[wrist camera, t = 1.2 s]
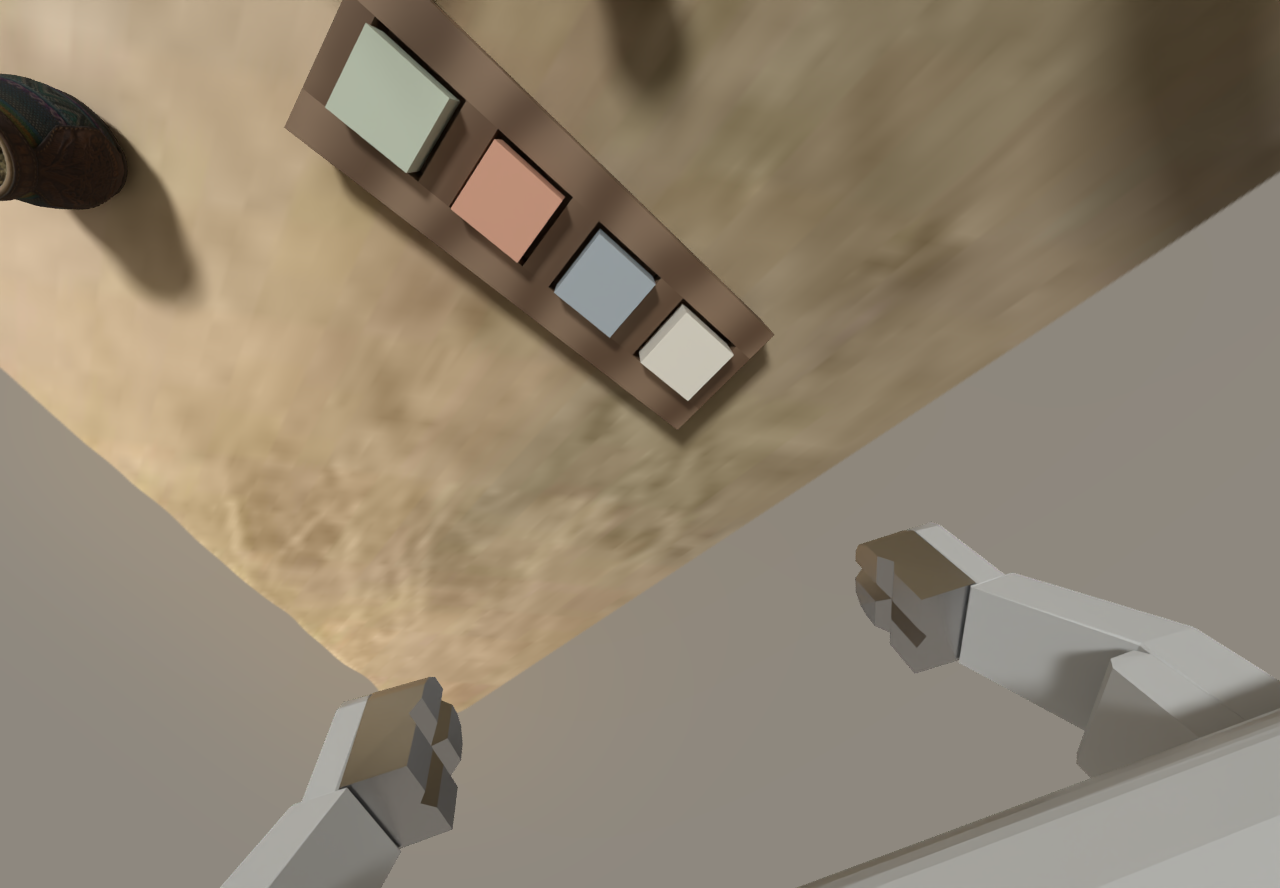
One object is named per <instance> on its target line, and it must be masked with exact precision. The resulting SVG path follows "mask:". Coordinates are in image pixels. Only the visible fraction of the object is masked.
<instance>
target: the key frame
mask: <svg viewBox="0 0 1280 888" xmlns="http://www.w3.org/2000/svg"><path fill="white" fill-rule="evenodd" d="M365 23H367V24H369V25H371V26H373V27H375V28H377V29H379V30H381V31H383V32H384V33H385V34H386V35H388V36H389V37H390V38H391V39H392V40H393V41H394V42H395V43H396V44H397V45H399V46H400V47H401V48H402V49H403V50H404V51H405V52H406V53H407V54H408V55H410V56H411V57H412V58H413V59H414V60H415V61H416V62H417V63H418V64H420V65H421V66H422V67H423V68H424V69H425V70H426V71H427V72H428V73H429V74H431V75H432V76H433V77H434V78H435V79H436V80H437V81H438V82H439V83H440V84H442V85H443V86H444V87H445V88H446V89H447V90H448V91H449V92H450V93H451V94H453V95H454V96H455V97H456V98H457V99H458V100H459V101H460V103H459V105H458V107H457V108H456V110H455V112H454V113H453V115H452V117H451V118H450V120H449V122H448V124H447V125H446V127H445V129H444V130H443V132H442V134H441V136H440V137H439V139H438V141H437V142H436V144H435V146H434V147H433V149H432V151H431V153H430V154H429V156H428V158H427V159H426V161H425V163H424V164H423V166H422V168H421V170H420V171H418V172H411V173H405V172H404V171H403V170H402V169H401V168H399V167H398V166H397V165H396V164H394V163H393V162H392V161H391V160H389V159H388V158H387V157H386V156H384V155H383V154H382V153H381V152H380V151H378V150H377V149H376V148H375V147H373V146H372V145H371V144H370V143H368V142H367V141H366V140H365V139H363V138H362V137H361V136H360V135H359V134H357V133H356V132H355V131H354V130H352V129H351V128H350V127H349V126H347V125H346V124H345V123H344V122H342V121H341V120H340V119H339V118H338V117H336V116H335V115H334V114H333V113H331V112H330V111H329V110H328V109H326V108H325V106H326V104H327V102H328V100H329V98H330V96H331V94H332V91H333V89H334V87H335V85H336V83H337V81H338V79H339V77H340V75H341V73H342V71H343V69H344V67H345V65H346V62H347V60H348V58H349V56H350V54H351V52H352V50H353V48H354V46H355V44H356V42H357V40H358V38H359V36H360V33H361V31H362V29H363V27H364V25H365ZM284 128H286V129H287V130H288V131H289V132H291V133H292V134H293V135H295V136H296V137H297V138H299V139H300V140H301V141H302V142H304V143H305V144H306V145H308V146H309V147H310V148H312V149H313V150H314V151H315V152H317V153H318V154H319V155H321V156H322V157H323V158H325V159H326V160H327V161H328V162H330V163H331V164H332V165H334V166H335V167H336V168H338V169H339V170H340V171H341V172H343V173H344V174H345V175H347V176H348V177H349V178H351V179H352V180H353V181H354V182H356V183H357V184H358V185H360V186H361V187H362V188H364V189H365V190H366V191H367V192H369V193H370V194H371V195H373V196H374V197H375V198H377V199H378V200H379V201H380V202H382V203H383V204H384V205H386V206H387V207H388V208H390V209H391V210H392V211H393V212H395V213H396V214H397V215H399V216H400V217H401V218H403V219H404V220H405V221H406V222H408V223H409V224H410V225H412V226H413V227H414V228H416V229H417V230H418V231H419V232H421V233H422V234H423V235H425V236H426V237H427V238H429V239H430V240H431V241H432V242H434V243H435V244H436V245H438V246H439V247H440V248H442V249H443V250H444V251H445V252H447V253H448V254H449V255H451V256H452V257H453V258H455V259H456V260H457V261H458V262H460V263H461V264H462V265H464V266H465V267H466V268H468V269H469V270H470V271H471V272H473V273H474V274H475V275H477V276H478V277H479V278H480V279H482V280H483V281H484V282H486V283H487V284H488V285H490V286H491V287H492V288H493V289H495V290H496V291H497V292H499V293H500V294H501V295H503V296H504V297H505V298H506V299H508V300H509V301H510V302H512V303H513V304H514V305H516V306H517V307H518V308H519V309H521V310H522V311H523V312H525V313H526V314H527V315H529V316H530V317H531V318H532V319H534V320H535V321H536V322H538V323H539V324H540V325H542V326H543V327H544V328H545V329H547V330H548V331H549V332H551V333H552V334H553V335H555V336H556V337H557V338H558V339H560V340H561V341H562V342H564V343H565V344H566V345H568V346H569V347H570V348H571V349H573V350H574V351H575V352H577V353H578V354H579V355H581V356H582V357H583V358H584V359H586V360H587V361H588V362H590V363H591V364H592V365H594V366H595V367H596V368H597V369H599V370H600V371H601V372H603V373H604V374H605V375H607V376H608V377H609V378H610V379H612V380H613V381H614V382H616V383H617V384H618V385H620V386H621V387H622V388H623V389H625V390H626V391H627V392H629V393H630V394H631V395H633V396H634V397H635V398H636V399H638V400H639V401H640V402H642V403H643V404H644V405H646V406H647V407H648V408H649V409H651V410H652V411H653V412H655V413H656V414H657V415H659V416H660V417H661V418H662V419H664V420H665V421H666V422H668V423H669V424H670V425H672V426H673V427H674V428H675V429H677V430H678V429H679V428H680V427H681V426H682V425H683V424H684V423H685V422H686V421H687V420H688V419H689V418H690V417H691V416H692V415H693V414H694V413H695V412H696V411H697V410H698V409H699V408H700V407H701V406H702V405H703V404H705V403H706V402H707V401H708V400H709V399H710V398H711V397H712V396H713V395H714V394H715V393H716V392H717V391H718V390H719V389H720V388H721V387H722V386H723V385H724V384H725V383H726V382H727V381H728V380H729V379H730V378H731V377H732V376H733V375H734V374H735V373H736V372H737V371H738V370H739V369H740V368H741V367H742V366H743V365H744V364H745V363H746V362H747V361H748V360H749V359H750V358H751V357H752V356H753V355H754V354H755V353H757V352H758V351H759V350H760V349H761V348H762V347H763V346H764V345H765V344H766V343H767V342H768V341H769V340H770V339H771V338H772V337H773V336H774V334H773V333H772V331H771V330H770V329H769V328H768V327H767V326H766V325H765V324H764V322H763V321H762V320H761V319H760V318H759V317H758V316H757V315H756V314H755V313H754V312H753V311H752V310H751V309H750V308H748V307H747V306H746V305H745V304H744V303H743V302H742V301H741V300H740V299H739V298H738V297H737V296H736V295H735V294H734V293H733V292H732V291H731V290H730V289H729V288H728V287H727V286H726V285H725V284H724V283H723V282H722V281H721V280H720V279H719V278H718V277H717V276H716V275H715V274H714V273H712V272H711V271H710V270H709V269H708V268H707V267H706V266H705V265H704V264H703V263H702V262H701V261H700V260H699V259H698V258H697V257H696V256H695V255H694V254H693V253H692V252H691V251H690V250H689V249H688V248H687V247H686V246H685V245H684V244H683V243H682V242H681V241H680V240H679V239H677V238H676V237H675V236H674V235H673V234H672V233H671V232H670V231H669V230H668V229H667V228H666V227H665V226H664V225H663V224H662V223H661V222H660V221H659V220H658V219H657V218H656V217H655V216H654V215H653V214H652V213H651V212H650V211H649V210H648V209H647V208H646V207H645V206H644V205H643V204H641V203H640V202H639V201H638V200H637V199H636V198H635V197H634V196H633V195H632V194H631V193H630V192H629V191H628V190H627V189H626V188H625V187H624V186H623V185H622V184H621V183H620V182H619V181H618V180H617V179H616V178H615V177H614V176H613V175H612V174H611V173H610V172H609V171H608V170H607V169H605V168H604V167H603V166H602V165H601V164H600V163H599V162H598V161H597V160H596V159H595V158H594V157H593V156H592V155H591V154H590V153H589V152H588V151H587V150H586V149H585V148H584V147H583V146H582V145H581V144H580V143H579V142H578V141H577V140H576V139H575V138H574V137H573V136H572V135H570V134H569V133H568V132H567V131H566V130H565V129H564V128H563V127H562V126H561V125H560V124H559V123H558V122H557V121H556V120H555V119H554V118H553V117H552V116H551V115H550V114H549V113H548V112H547V111H546V110H545V109H544V108H543V107H542V106H541V105H540V104H539V103H538V102H537V101H536V100H534V99H533V98H532V97H531V96H530V95H529V94H528V93H527V92H526V91H525V90H524V89H523V88H522V87H521V86H520V85H519V84H518V83H517V82H516V81H515V80H514V79H513V78H512V77H511V76H510V75H509V74H508V73H507V72H506V71H505V70H504V69H503V68H502V67H501V66H499V65H498V64H497V63H496V62H495V61H494V60H493V59H492V58H491V57H490V56H489V55H488V54H487V53H486V52H485V51H484V50H483V49H482V48H481V47H480V46H479V45H478V44H477V43H476V42H475V41H474V40H473V39H472V38H471V37H470V36H469V35H468V34H467V33H466V32H465V31H463V30H462V29H461V28H460V27H459V26H458V25H457V24H456V23H455V22H454V21H453V20H452V19H451V18H450V17H449V16H448V15H447V14H446V13H445V12H444V11H443V10H442V9H441V8H440V7H439V6H438V5H437V4H436V3H435V2H434V1H433V0H342V3H341V5H340V7H339V9H338V11H337V14H336V16H335V18H334V20H333V22H332V24H331V27H330V29H329V31H328V33H327V35H326V38H325V40H324V42H323V44H322V46H321V48H320V51H319V53H318V55H317V57H316V59H315V62H314V64H313V66H312V68H311V70H310V73H309V75H308V77H307V79H306V81H305V83H304V86H303V88H302V90H301V92H300V94H299V97H298V99H297V101H296V103H295V105H294V107H293V110H292V112H291V114H290V116H289V118H288V121H287V123H286V125H285V127H284ZM494 139H502V140H503V141H504V142H505V143H506V144H508V145H509V146H510V147H511V148H512V149H513V150H514V151H515V152H516V153H518V154H519V155H520V156H521V157H522V158H523V159H524V160H525V161H526V162H527V163H529V164H530V165H531V166H532V167H533V168H534V169H535V170H536V171H537V172H538V173H540V174H541V175H542V176H543V177H544V178H545V179H546V180H547V181H548V182H549V183H551V184H552V185H553V186H554V187H555V188H556V189H557V190H558V191H559V192H560V193H562V194H563V195H564V196H565V198H564V199H563V201H562V202H561V204H560V205H559V206H558V208H557V209H556V210H555V212H554V213H553V215H552V216H551V217H550V219H549V220H548V221H547V223H546V224H545V226H544V227H543V228H542V230H541V231H540V233H539V234H538V235H537V237H536V238H535V239H534V241H533V242H532V244H531V245H530V246H529V248H528V249H527V251H526V252H525V253H524V255H523V256H522V257H521V259H520V260H519V261H518V263H517V262H515V261H514V260H513V259H512V258H511V257H509V256H508V255H507V254H506V253H504V252H503V251H502V250H501V249H499V248H498V247H497V246H496V245H494V244H493V243H492V242H491V241H490V240H488V239H487V238H486V237H485V236H483V235H482V234H481V233H480V232H478V231H477V230H476V229H475V228H473V227H472V226H471V225H470V224H469V223H467V222H466V221H465V220H464V219H462V218H461V217H460V216H459V215H457V214H456V213H455V212H454V211H452V210H451V207H452V206H453V204H454V202H455V201H456V199H457V198H458V196H459V195H460V193H461V191H462V190H463V188H464V187H465V185H466V183H467V182H468V180H469V179H470V177H471V176H472V174H473V172H474V171H475V169H476V168H477V166H478V164H479V163H480V161H481V160H482V158H483V157H484V155H485V153H486V152H487V150H488V149H489V147H490V146H491V144H492V142H493V141H494ZM599 229H601V230H602V231H603V232H604V233H606V234H607V235H608V236H609V237H610V238H611V239H612V240H613V241H614V242H616V243H617V244H618V245H619V246H620V247H621V248H622V249H623V250H624V251H625V252H627V253H628V254H629V255H630V256H631V257H632V258H633V259H634V260H635V261H636V262H638V263H639V264H640V265H641V266H642V267H643V268H644V269H645V270H646V271H647V272H649V273H650V274H651V275H652V276H653V278H654V281H655V284H656V285H655V286H654V287H653V288H652V289H651V291H650V292H649V293H648V294H647V295H646V296H645V298H644V299H643V300H642V301H641V302H640V303H639V304H638V306H637V307H636V308H635V309H634V310H633V311H632V313H631V314H630V315H629V316H628V317H627V318H626V320H625V321H624V322H623V323H622V324H621V325H620V326H619V328H618V329H617V330H616V331H615V332H614V333H613V335H612V336H611V337H610V338H609V337H608V336H607V335H606V334H604V333H603V332H602V331H601V330H600V329H598V328H597V327H596V326H595V325H593V324H592V323H591V322H590V321H588V320H587V319H586V318H585V317H583V316H582V315H581V314H580V313H579V312H577V311H576V310H575V309H574V308H572V307H571V306H570V305H569V304H567V303H566V302H565V301H564V300H562V299H561V298H560V297H559V296H558V295H556V294H555V293H554V291H555V288H556V285H557V283H558V282H559V281H560V279H561V278H562V277H563V275H564V274H565V273H566V272H567V270H568V269H569V268H570V266H571V265H572V264H573V263H574V261H575V260H576V259H577V257H578V256H579V255H580V254H581V252H582V251H583V250H584V248H585V247H586V246H587V244H588V243H589V242H590V241H591V239H592V238H593V237H594V235H595V234H596V233H597V232H598V230H599ZM682 303H683V304H684V305H685V306H686V307H687V308H688V309H689V310H690V311H691V312H693V313H694V314H695V315H696V316H697V317H698V318H699V319H700V320H701V321H702V322H704V323H705V324H706V325H707V326H708V327H709V328H710V329H711V330H712V331H714V332H715V333H716V334H717V335H718V336H719V337H720V338H721V339H722V340H723V341H725V342H726V343H727V345H728V346H729V348H730V349H731V351H732V353H733V354H734V356H733V357H732V358H731V359H730V360H729V361H728V362H727V363H726V364H725V365H724V366H723V367H722V368H721V369H720V370H719V371H718V372H717V373H716V374H715V375H714V376H713V377H712V378H711V379H710V380H709V381H708V382H707V383H706V384H705V385H704V386H703V387H702V388H701V389H700V390H699V391H698V392H697V393H696V394H695V395H694V396H693V397H692V398H691V399H690V400H689V401H687V400H686V399H685V398H684V397H682V396H681V395H680V394H679V393H677V392H676V391H675V390H674V389H672V388H671V387H670V386H669V385H668V384H666V383H665V382H664V381H663V380H661V379H660V378H659V377H658V376H656V375H655V374H654V373H653V372H651V371H650V370H649V369H648V368H646V367H645V366H644V365H643V364H642V363H641V362H640V356H639V350H640V349H641V348H642V347H643V346H644V345H645V343H646V342H647V341H648V340H649V339H650V338H651V337H652V336H653V335H654V333H655V332H656V331H657V330H658V329H659V328H660V327H661V326H662V325H663V324H664V322H665V321H666V320H667V319H668V318H669V317H670V316H671V315H672V314H673V312H674V311H675V310H676V309H677V308H678V307H679V306H680V305H681V304H682Z"/></svg>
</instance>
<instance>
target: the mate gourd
mask: <svg viewBox="0 0 1280 888" xmlns="http://www.w3.org/2000/svg"><path fill="white" fill-rule="evenodd" d="M126 177H127V164H126V159H125V156H124V153H123V151H122V149H121V147H120V146H119V144H118V142H117V140H116V139H115V137H114V135H113V134H112V132H111V131H110V129H109V128H108V127H107V125H106V124H105V123H104V122H103V121H102V120H101V119H100V117H99V116H98V115H97V114H95V113H94V112H93V111H92V110H91V109H90V108H89V107H87V106H86V105H85V104H84V103H82V102H81V101H79V100H78V99H76V98H75V97H73V96H71V95H69V94H67V93H65V92H62V91H60V90H58V89H55V88H53V87H51V86H49V85H46V84H43V83H41V82H38V81H35V80H32V79H29V78H26V77H21V76H17V75H11V74H0V201H7V200H13V199H16V200H20V201H23V202H27V203H29V204H33V205H36V206H40V207H47V208H56V209H77V210H78V209H90V208H94V207H96V206H99V205H100V204H103V203H104V202H107V200H109V199H110V198H111V197H113V196H114V195H116V194H117V193H119V192H120V191H121V189H122V188H123V186H124V184H125V182H126Z"/></svg>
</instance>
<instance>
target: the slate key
mask: <svg viewBox="0 0 1280 888" xmlns="http://www.w3.org/2000/svg"><path fill="white" fill-rule="evenodd" d="M655 285H656V284H655V281H654V278H653V276H652V275H651V274H650V273H649V272H647V271H646V270H645V269H644V268H643V267H642V266H641V265H640V264H639V263H638V262H636V261H635V260H634V259H633V258H632V257H631V256H630V255H629V254H628V253H627V252H625V251H624V250H623V249H622V248H621V247H620V246H619V245H618V244H617V243H616V242H614V241H613V240H612V239H611V238H610V237H609V236H608V235H607V234H606V233H604V232H603V231H602V230H601V229H599V230H598V232H597V233H596V234H595V235H594V237H593V238H592V239H591V241H590V242H589V243H588V244H587V246H586V247H585V248H584V250H583V251H582V252H581V254H580V255H579V256H578V257H577V259H576V260H575V261H574V263H573V264H572V265H571V266H570V268H569V269H568V270H567V272H566V273H565V274H564V275H563V277H562V278H561V279H560V281H559V282H558V283H557V285H556V288H555V291H554V293H555V294H556V295H558V296H559V297H560V298H561V299H562V300H564V301H565V302H566V303H567V304H569V305H570V306H571V307H572V308H574V309H575V310H576V311H577V312H579V313H580V314H581V315H582V316H583V317H585V318H586V319H587V320H588V321H590V322H591V323H592V324H593V325H595V326H596V327H597V328H598V329H600V330H601V331H602V332H603V333H604V334H606V335H607V336H608V337H609V338H610V337H611V336H612V335H613V333H614V332H615V331H616V330H617V329H618V328H619V326H620V325H621V324H622V323H623V322H624V321H625V320H626V318H627V317H628V316H629V315H630V314H631V313H632V311H633V310H634V309H635V308H636V307H637V306H638V304H639V303H640V302H641V301H642V300H643V299H644V298H645V296H646V295H647V294H648V293H649V292H650V291H651V289H652V288H653V287H654V286H655Z"/></svg>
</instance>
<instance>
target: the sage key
mask: <svg viewBox="0 0 1280 888" xmlns="http://www.w3.org/2000/svg"><path fill="white" fill-rule="evenodd" d="M459 103H460V101H459V100H458V99H457V98H456V97H455V96H454V95H453V94H451V93H450V92H449V91H448V90H447V89H446V88H445V87H444V86H443V85H442V84H440V83H439V82H438V81H437V80H436V79H435V78H434V77H433V76H432V75H431V74H429V73H428V72H427V71H426V70H425V69H424V68H423V67H422V66H421V65H420V64H418V63H417V62H416V61H415V60H414V59H413V58H412V57H411V56H410V55H408V54H407V53H406V52H405V51H404V50H403V49H402V48H401V47H400V46H399V45H397V44H396V43H395V42H394V41H393V40H392V39H391V38H390V37H389V36H388V35H386V34H385V33H384V32H383V31H381V30H379V29H377V28H375V27H373V26H371V25H369V24H367V23H365V25H364V27H363V29H362V31H361V33H360V36H359V38H358V40H357V42H356V44H355V46H354V48H353V50H352V52H351V54H350V56H349V58H348V60H347V62H346V65H345V67H344V69H343V71H342V73H341V75H340V77H339V79H338V81H337V83H336V85H335V87H334V89H333V91H332V94H331V96H330V98H329V100H328V102H327V104H326V106H325V108H326V109H328V110H329V111H330V112H331V113H333V114H334V115H335V116H336V117H338V118H339V119H340V120H341V121H342V122H344V123H345V124H346V125H347V126H349V127H350V128H351V129H352V130H354V131H355V132H356V133H357V134H359V135H360V136H361V137H362V138H363V139H365V140H366V141H367V142H368V143H370V144H371V145H372V146H373V147H375V148H376V149H377V150H378V151H380V152H381V153H382V154H383V155H384V156H386V157H387V158H388V159H389V160H391V161H392V162H393V163H394V164H396V165H397V166H398V167H399V168H401V169H402V170H403V171H404V172H405V173H411V172H418V171H420V170H421V168H422V166H423V164H424V163H425V161H426V159H427V158H428V156H429V154H430V153H431V151H432V149H433V147H434V146H435V144H436V142H437V141H438V139H439V137H440V136H441V134H442V132H443V130H444V129H445V127H446V125H447V124H448V122H449V120H450V118H451V117H452V115H453V113H454V112H455V110H456V108H457V107H458V105H459Z"/></svg>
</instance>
